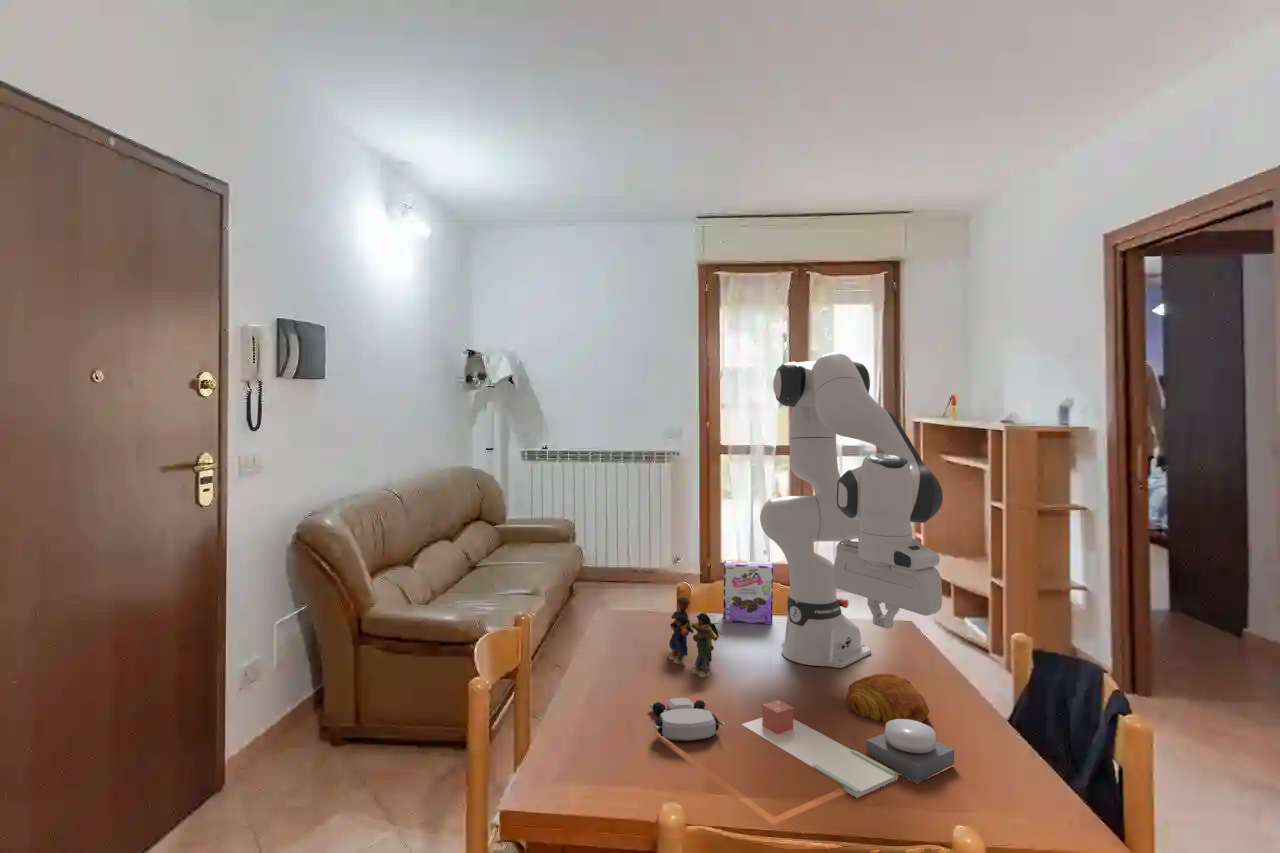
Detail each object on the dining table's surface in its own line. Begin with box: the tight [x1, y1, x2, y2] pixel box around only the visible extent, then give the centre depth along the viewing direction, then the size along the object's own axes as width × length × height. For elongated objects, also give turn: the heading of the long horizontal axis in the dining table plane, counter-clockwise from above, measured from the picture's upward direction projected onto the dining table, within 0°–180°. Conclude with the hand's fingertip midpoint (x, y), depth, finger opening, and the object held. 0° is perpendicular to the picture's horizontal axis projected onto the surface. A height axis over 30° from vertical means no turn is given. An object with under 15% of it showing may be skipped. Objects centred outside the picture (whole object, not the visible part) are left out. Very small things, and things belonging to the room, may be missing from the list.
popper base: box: [866, 732, 955, 784], centre depth 117 cm, size 10×10×3 cm
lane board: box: [740, 717, 899, 799], centre depth 119 cm, size 13×27×1 cm, turn 33°
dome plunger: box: [884, 719, 937, 753], centre depth 117 cm, size 8×8×4 cm
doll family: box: [667, 596, 723, 678], centre depth 163 cm, size 23×9×13 cm, turn 35°
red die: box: [761, 699, 795, 734], centre depth 128 cm, size 4×4×4 cm
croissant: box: [846, 673, 930, 724], centre depth 136 cm, size 14×16×8 cm
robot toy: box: [648, 697, 725, 741], centre depth 128 cm, size 12×4×15 cm
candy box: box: [722, 559, 774, 625], centre depth 193 cm, size 14×6×16 cm, turn 81°
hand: (882, 626), depth 120 cm, fingers closed
